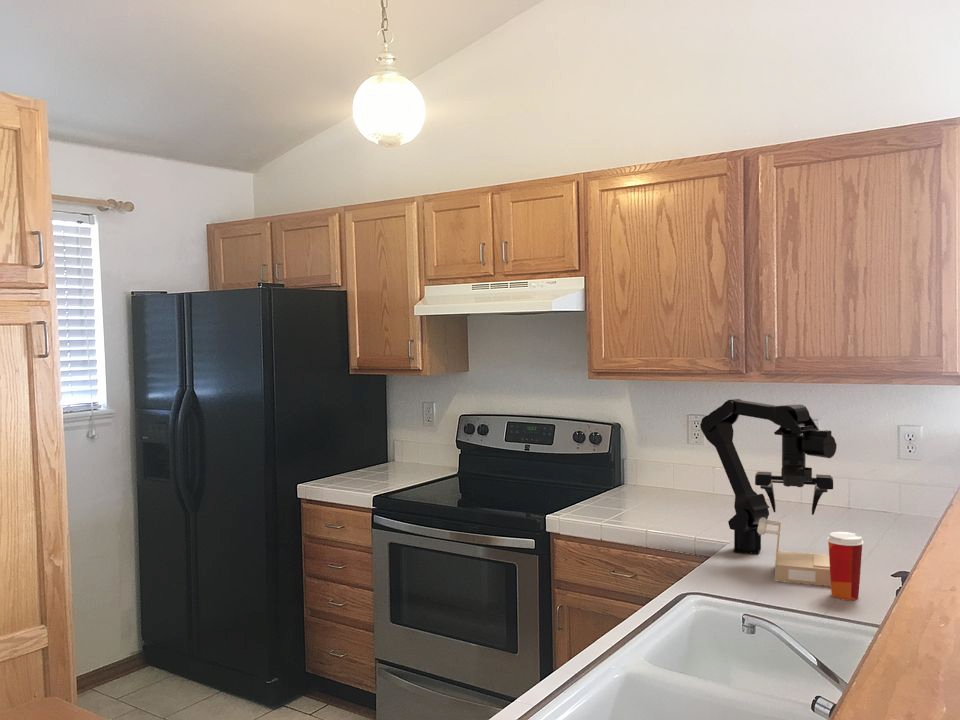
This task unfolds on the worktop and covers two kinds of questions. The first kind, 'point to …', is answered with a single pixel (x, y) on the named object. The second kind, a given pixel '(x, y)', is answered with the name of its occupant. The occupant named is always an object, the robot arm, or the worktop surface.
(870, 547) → the worktop surface
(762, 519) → the flap
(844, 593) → the paper cup
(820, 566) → the carton
